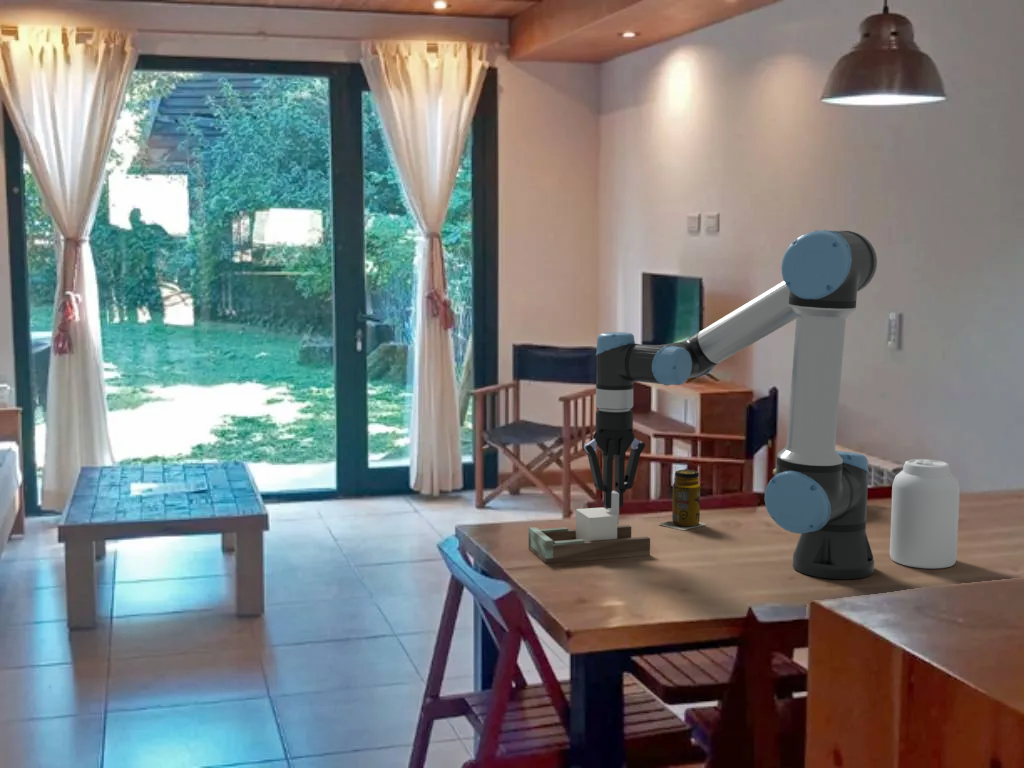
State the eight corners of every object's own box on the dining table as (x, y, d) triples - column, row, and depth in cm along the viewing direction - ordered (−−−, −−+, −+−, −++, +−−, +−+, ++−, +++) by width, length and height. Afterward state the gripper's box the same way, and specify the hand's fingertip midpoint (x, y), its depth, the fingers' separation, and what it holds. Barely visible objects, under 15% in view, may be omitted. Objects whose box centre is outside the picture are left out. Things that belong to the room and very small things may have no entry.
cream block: (616, 550, 240) (617, 515, 240) (588, 552, 239) (589, 517, 238) (603, 540, 248) (603, 507, 247) (575, 542, 246) (575, 509, 246)
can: (876, 556, 240) (879, 458, 237) (927, 550, 244) (931, 454, 242) (918, 572, 228) (922, 469, 226) (970, 566, 232) (975, 465, 230)
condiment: (707, 524, 266) (708, 471, 265) (684, 531, 261) (684, 477, 259) (681, 519, 272) (682, 467, 270) (657, 525, 266) (658, 472, 264)
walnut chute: (649, 555, 241) (650, 533, 240) (545, 563, 235) (545, 541, 234) (628, 541, 252) (628, 520, 251) (528, 548, 246) (528, 527, 245)
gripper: (637, 405, 246) (636, 517, 249) (577, 407, 243) (576, 521, 246) (651, 410, 239) (649, 525, 242) (590, 412, 236) (589, 529, 239)
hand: (613, 523), depth 244 cm, fingers closed
